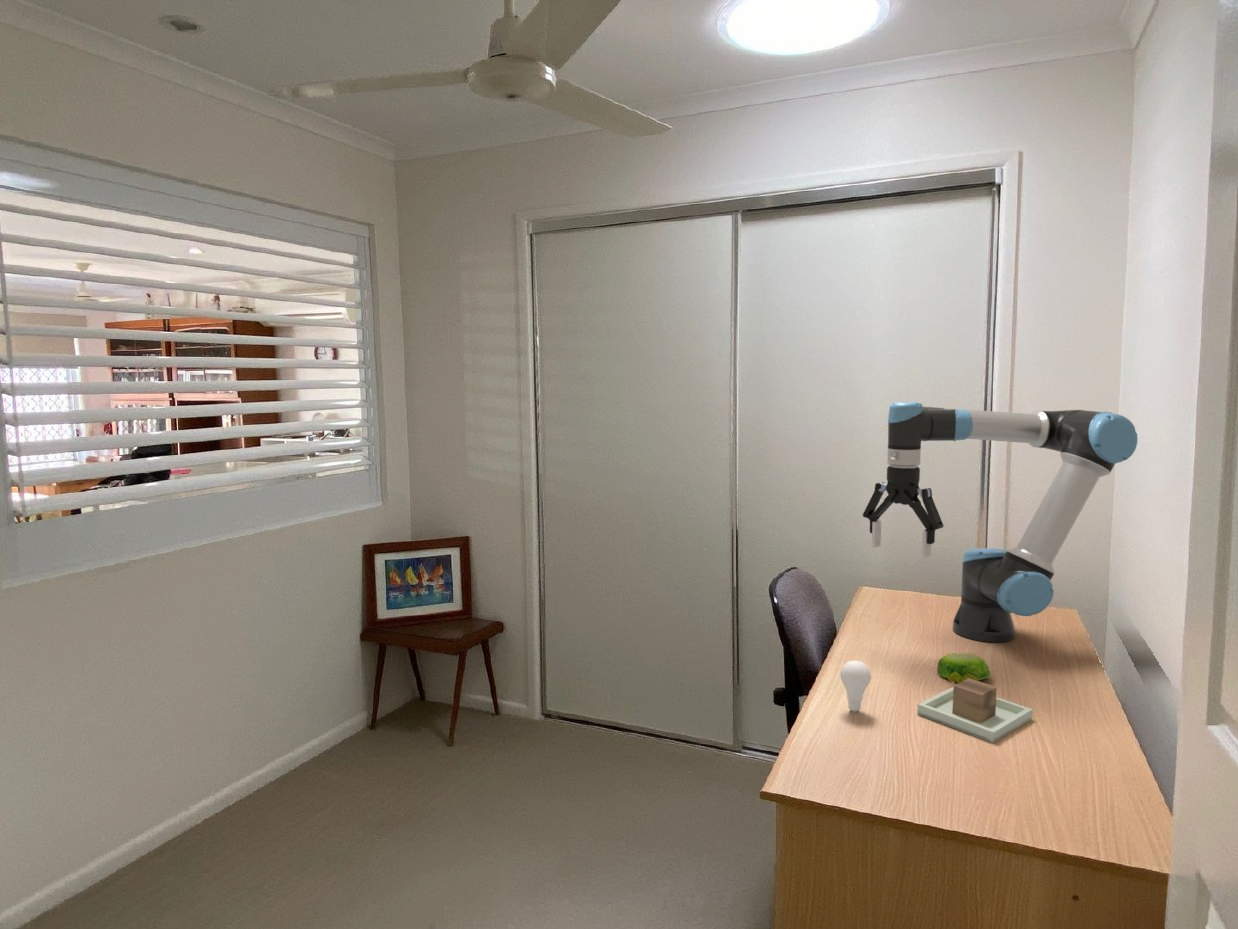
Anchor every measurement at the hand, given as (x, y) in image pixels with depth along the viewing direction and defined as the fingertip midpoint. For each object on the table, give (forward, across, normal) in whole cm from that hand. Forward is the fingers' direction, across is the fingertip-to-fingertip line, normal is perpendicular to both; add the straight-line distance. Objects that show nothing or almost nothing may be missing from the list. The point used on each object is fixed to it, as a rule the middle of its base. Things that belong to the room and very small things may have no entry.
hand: (900, 551), depth 191 cm
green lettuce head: (+27, +17, 0) cm, 32 cm away
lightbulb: (+27, +12, -35) cm, 46 cm away
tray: (+27, +29, -18) cm, 44 cm away
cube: (+26, +29, -18) cm, 43 cm away
